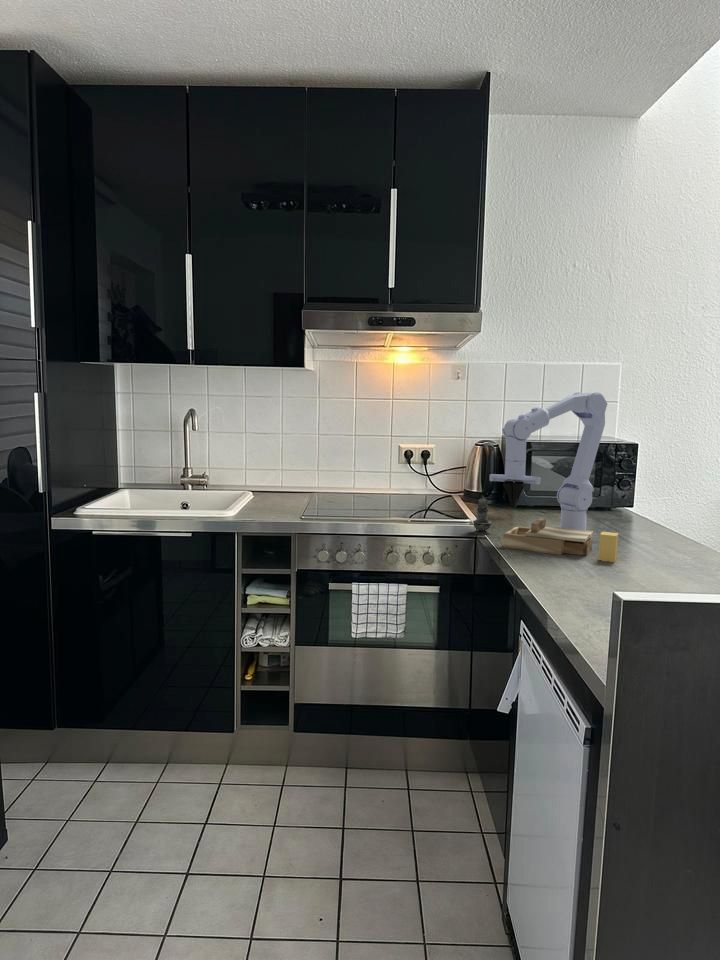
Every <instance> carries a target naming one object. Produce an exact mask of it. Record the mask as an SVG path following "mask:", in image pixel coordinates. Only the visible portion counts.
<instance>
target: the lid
mask: <svg viewBox="0 0 720 960" xmlns="http://www.w3.org/2000/svg"><path fill="white" fill-rule="evenodd" d="M546 522H547V519H546V518H543V517H539V518H538V519H536V520H535V521H533V522H531V525H530V528H531V529H530V530H529V531H527V532H526V533H525V536H533V537H543V538H552V539H561V540H570V541H579V542H586V541H587V540H588V539H589V538H592V536H593V535H594V534H595V531H594V530H588V529H586V530H579V529H569V528H560V527H558V526H547V523H546Z"/></svg>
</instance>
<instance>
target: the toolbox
mask: <svg viewBox="0 0 720 960" xmlns="http://www.w3.org/2000/svg"><path fill="white" fill-rule="evenodd" d="M530 529H531V527H527V526H526V527H525V526H515V527H512V529H510V530H508V531H506V532H504V533H503V538H502V539H503V540H502V541H503V542H502V548H503V549H511V550H518V551H526V552H527V551H528V552H533V553H535V552H536V553H541V554H543V553H544V554H551V555H559V556H561V555H562V554H571V555H572V554H573V555H579V556H588V555H589V554H590V553H591V552H592V551H591V550H592V549H593V537H590V538H589V539H588V540H587V541H586V542H579V541H570V540H561V539H552V538H543V537H533V536H525V533H526V532H527V531H529V530H530Z"/></svg>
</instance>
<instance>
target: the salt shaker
mask: <svg viewBox="0 0 720 960" xmlns="http://www.w3.org/2000/svg"><path fill="white" fill-rule="evenodd" d="M476 511H477V516H476V519H475V520H472V523H473V527H474V529H475V530H474V531H473V534H475V535H480V536H481V535H482V536H487V535H490V534H491V531H488V530H489V529H490V527H491V525H492V521H491V520H489V519H488V512H489V509H488V499H487V498H485V496H484V495H482V496H481V498H479V499H477V509H476Z"/></svg>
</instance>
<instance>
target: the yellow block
mask: <svg viewBox="0 0 720 960" xmlns="http://www.w3.org/2000/svg"><path fill="white" fill-rule="evenodd" d="M618 544H619V533H618V532H608V531H602V532H600V534H599V544H598V545H599V546H598V561H599V560H602V561H601V562H607V561H609V563H615V562H616V561H617V559H618V547H619V545H618Z"/></svg>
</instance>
